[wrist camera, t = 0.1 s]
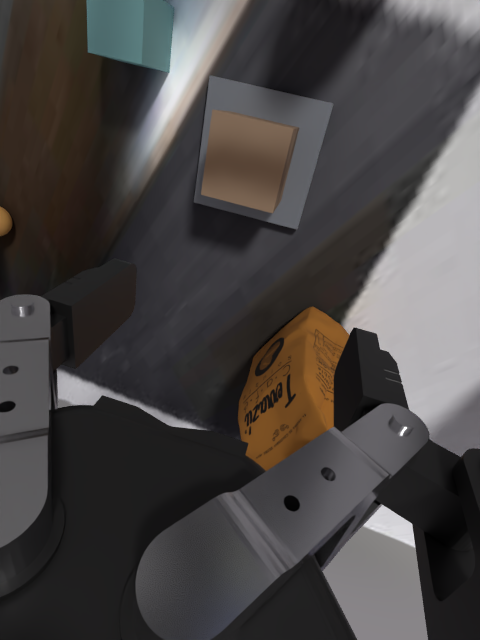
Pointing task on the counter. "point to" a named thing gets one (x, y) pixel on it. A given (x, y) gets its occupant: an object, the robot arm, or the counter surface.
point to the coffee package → (291, 388)
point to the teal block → (131, 31)
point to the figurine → (5, 222)
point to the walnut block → (247, 160)
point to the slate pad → (277, 109)
